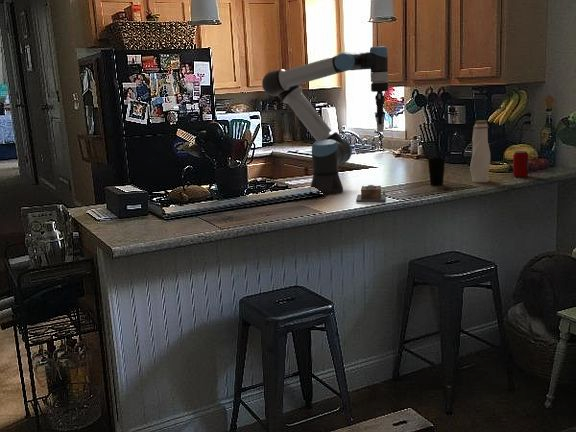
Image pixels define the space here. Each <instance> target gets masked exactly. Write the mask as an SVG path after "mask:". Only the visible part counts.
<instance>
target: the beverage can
mask: <svg viewBox="0 0 576 432" xmlns="http://www.w3.org/2000/svg"><path fill="white" fill-rule="evenodd" d="M512 156H513V159H512V166H513V168H512V176H513V177H515V176H517V177H516V178H525V177H524V176H526V177H528V175H529V153H528V151H526V150H516V151H514V153H513V155H512Z"/></svg>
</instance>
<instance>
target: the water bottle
mask: <svg viewBox="0 0 576 432" xmlns="http://www.w3.org/2000/svg"><path fill="white" fill-rule="evenodd" d="M472 128H473V130H472V138H471V142H472V155H471V156H472V157H471V161H470V166H469V170H470V174H471V182H473V183H488V182H489V181H490V179H489V177H490V176H489V171H490V166H491V150H490V145H489V142H488V140H489V139H488V138H489V134H488V131H489V128H490V126H489V125H488V120H483V119H482V120H480V119H479V120H475V124H474V125H473V127H472Z"/></svg>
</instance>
